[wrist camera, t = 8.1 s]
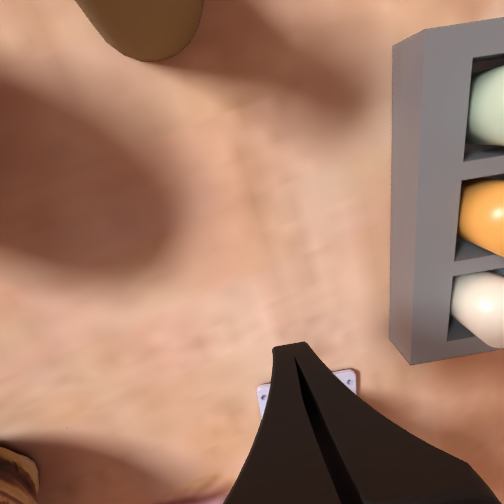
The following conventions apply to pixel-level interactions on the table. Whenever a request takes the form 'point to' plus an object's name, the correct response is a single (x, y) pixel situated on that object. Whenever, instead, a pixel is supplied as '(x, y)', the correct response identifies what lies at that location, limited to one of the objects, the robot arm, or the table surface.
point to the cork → (145, 25)
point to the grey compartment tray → (436, 185)
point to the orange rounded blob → (482, 213)
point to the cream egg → (480, 305)
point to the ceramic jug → (17, 478)
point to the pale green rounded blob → (486, 108)
